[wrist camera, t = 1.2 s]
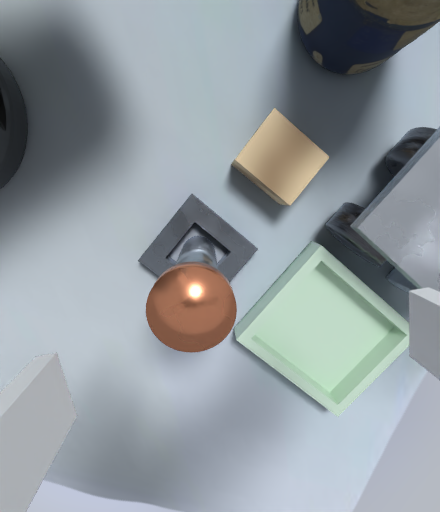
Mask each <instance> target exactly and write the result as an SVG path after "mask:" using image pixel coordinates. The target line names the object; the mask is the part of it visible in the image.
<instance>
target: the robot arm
mask: <svg viewBox="0 0 440 512" xmlns="http://www.w3.org/2000/svg"><path fill="white" fill-rule="evenodd" d="M26 141H27V116H26V110H25V105H24V102H23V98H22V95H21V92H20V90H19V88H18V85H17V83H16V81H15V79H14V77H13V76H12V74H11V72H10V71H9V69H8V68H7V66H6V65H5V63H4V62H3V61H2V60H1V58H0V188H2V187H3V186H4V185H5V184H6V183H7V182H8V181H9V180H10V178H11V177H12V176H13V175H14V173H15V171H16V170H17V168H18V166H19V164H20V162H21V160H22V157H23V154H24V151H25V147H26ZM409 356H410V357H411V358H413V359H414V360H415V361H416V362H418V363H419V364H420V365H421V366H423V367H424V368H425V369H426V370H428V371H429V372H430V373H431V374H433V375H434V376H435V377H436V378H438V379H439V380H440V292H438V291H436V290H434V289H432V288H429V287H427V288H422V289H416V290H410V291H409ZM76 418H77V414H76V410H75V407H74V404H73V401H72V398H71V395H70V392H69V389H68V386H67V383H66V380H65V376H64V373H63V370H62V367H61V364H60V361H59V358H58V355H57V353H52V354H46V355H40V356H35V357H34V358H33V359H32V361H31V362H30V363H29V364H28V365H27V366H26V367H25V368H24V369H23V370H22V371H21V372H20V373H19V374H18V375H17V376H16V377H15V378H14V379H13V380H12V381H11V382H10V383H9V384H8V385H7V386H6V387H5V388H4V389H3V390H2V391H1V392H0V512H26V511H27V509H28V507H29V505H30V503H31V501H32V500H33V498H34V496H35V494H36V492H37V490H38V489H39V487H40V485H41V483H42V481H43V479H44V477H45V476H46V474H47V472H48V470H49V468H50V466H51V464H52V462H53V461H54V459H55V457H56V455H57V453H58V451H59V449H60V448H61V446H62V444H63V442H64V440H65V438H66V436H67V435H68V433H69V431H70V429H71V427H72V425H73V423H74V422H75V420H76Z"/></svg>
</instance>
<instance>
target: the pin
mask: <svg viewBox="0 0 440 512" xmlns="http://www.w3.org/2000/svg"><path fill="white" fill-rule="evenodd" d="M236 312H237V309H236V301H235V297H234V293H233V290H232V287H231V285H230V283H229V281H228V280H227V278H226V277H225V276H224V275H223V274H222V273H221V272H220V271H219V270H218V267H217V261H216V255H215V249H214V246H213V244H212V242H211V241H210V240H209V239H208V238H206V237H203V236H194V237H191V238H190V239H188V240H187V241H186V242H185V244H184V246H183V248H182V251H181V253H180V255H179V258H178V260H177V262H176V265H174V266H172V267H170V268H169V269H167V270H166V271H165V272H163V273H162V274H161V275H160V277H159V278H158V279H157V281H156V282H155V284H154V286H153V288H152V289H151V291H150V293H149V296H148V299H147V303H146V316H147V321H148V324H149V326H150V328H151V330H152V332H153V333H154V335H155V336H156V337H157V338H158V339H159V340H160V341H161V342H162V343H164V344H165V345H167V346H168V347H170V348H173V349H175V350H178V351H183V352H200V351H204V350H207V349H210V348H212V347H214V346H216V345H217V344H219V343H220V342H221V341H223V340H224V339H225V338H226V336H227V335H228V334H229V333H230V331H231V329H232V327H233V325H234V322H235V319H236Z"/></svg>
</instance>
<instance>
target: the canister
mask: <svg viewBox="0 0 440 512" xmlns="http://www.w3.org/2000/svg"><path fill="white" fill-rule="evenodd" d="M439 21H440V0H299V3H298V26H299V31H300V35H301V38H302V41H303V43H304V45H305V47H306V49H307V51H308V52H309V54H310V55H311V56H312V58H313V59H314V60H315V61H316V62H317V63H319V64H320V65H321V66H323V67H324V68H326V69H328V70H330V71H333V72H336V73H341V74H356V73H362V72H365V71H368V70H370V69H373V68H375V67H376V66H378V65H380V64H381V63H383V62H384V61H386V60H387V59H389V58H390V57H391V56H393V55H394V54H396V53H397V52H398V51H400V50H401V49H402V48H404V47H405V46H406V45H408V44H409V43H411V42H412V41H414V40H415V39H417V38H418V37H419V36H420V35H422V34H423V33H425V32H426V31H427V30H429V29H430V28H431V27H433V26H434V25H435V24H437V23H438V22H439Z"/></svg>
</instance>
